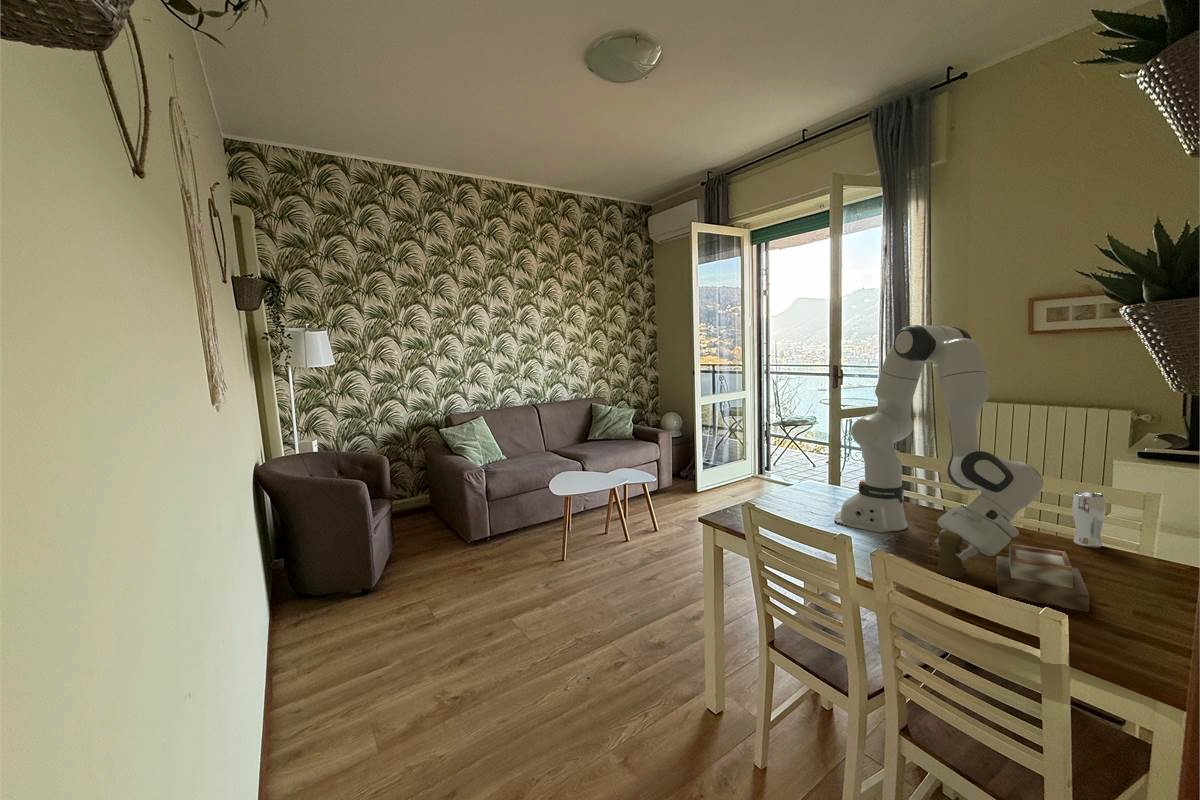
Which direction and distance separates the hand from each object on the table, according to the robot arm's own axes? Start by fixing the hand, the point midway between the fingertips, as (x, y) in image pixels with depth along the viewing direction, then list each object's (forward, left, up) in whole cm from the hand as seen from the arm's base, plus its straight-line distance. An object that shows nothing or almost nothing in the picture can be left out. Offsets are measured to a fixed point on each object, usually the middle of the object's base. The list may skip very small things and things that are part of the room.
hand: (948, 551), depth 135 cm
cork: (0, 0, -6) cm, 6 cm away
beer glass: (+32, +40, -6) cm, 52 cm away
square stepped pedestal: (+18, -1, -6) cm, 19 cm away
